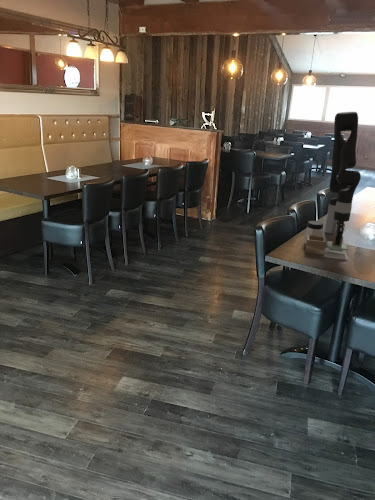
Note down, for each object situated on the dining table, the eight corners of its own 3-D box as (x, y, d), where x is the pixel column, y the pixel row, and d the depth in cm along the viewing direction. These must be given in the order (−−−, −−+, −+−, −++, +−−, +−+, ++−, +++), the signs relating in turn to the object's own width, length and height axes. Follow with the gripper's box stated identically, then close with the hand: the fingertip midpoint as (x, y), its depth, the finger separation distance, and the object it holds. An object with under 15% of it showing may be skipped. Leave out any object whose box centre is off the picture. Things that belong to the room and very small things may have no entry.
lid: (326, 245, 217) (328, 231, 214) (344, 247, 215) (347, 234, 212) (326, 250, 208) (329, 237, 206) (346, 253, 206) (348, 239, 204)
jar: (318, 241, 230) (321, 221, 226) (322, 246, 223) (326, 225, 219) (302, 240, 230) (305, 220, 226) (306, 245, 223) (309, 224, 219)
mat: (323, 248, 220) (323, 247, 220) (345, 250, 218) (345, 250, 218) (324, 257, 207) (324, 256, 207) (347, 260, 204) (347, 259, 204)
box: (305, 247, 220) (307, 234, 218) (323, 249, 218) (325, 237, 216) (305, 252, 212) (307, 239, 210) (323, 255, 210) (325, 242, 207)
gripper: (334, 206, 212) (328, 238, 218) (335, 213, 199) (329, 246, 205) (349, 208, 210) (343, 240, 216) (352, 214, 197) (345, 248, 203)
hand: (337, 243), depth 210 cm, fingers closed on lid, 3 cm apart
